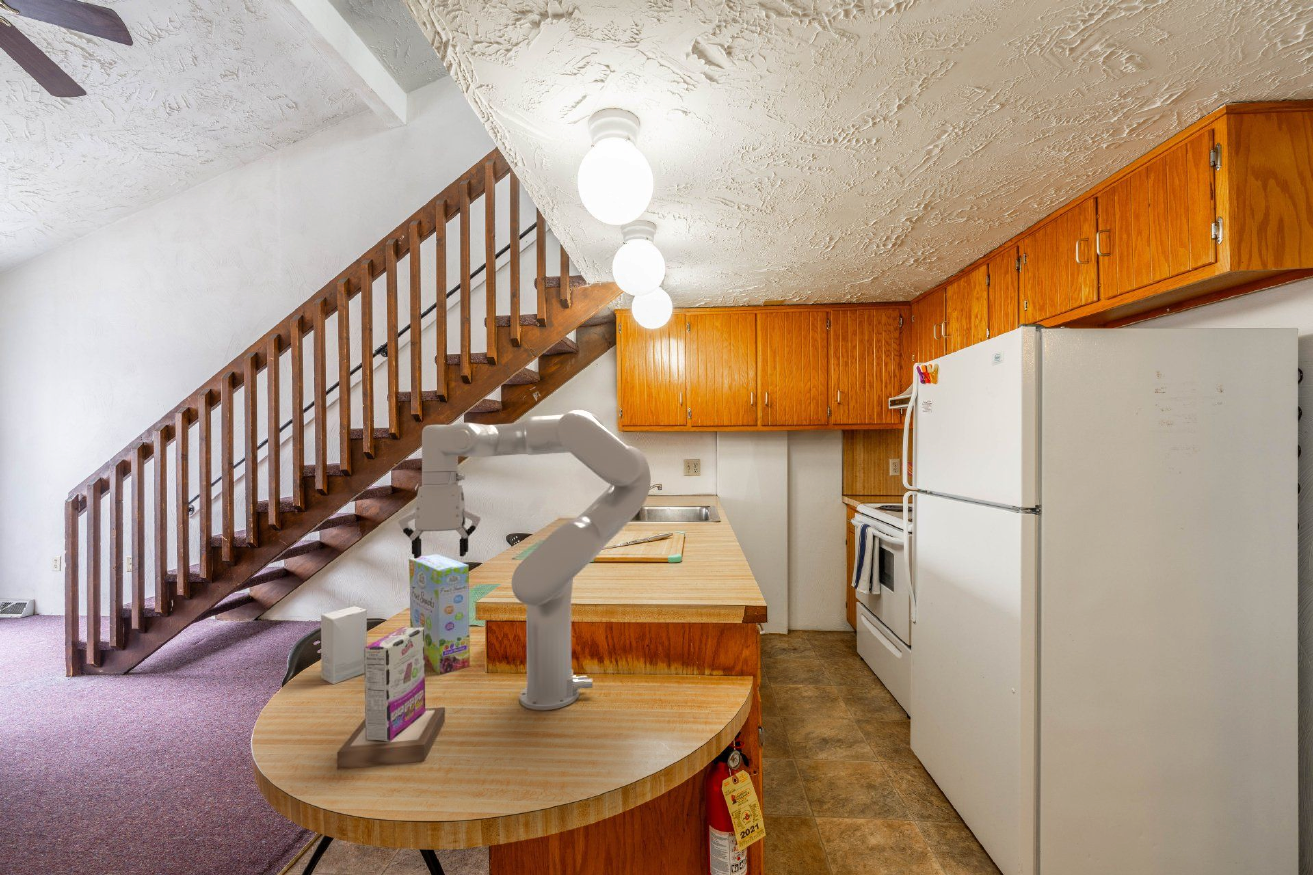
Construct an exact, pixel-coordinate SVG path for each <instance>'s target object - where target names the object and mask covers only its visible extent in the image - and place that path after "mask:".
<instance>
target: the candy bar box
mask: <svg viewBox="0 0 1313 875" xmlns="http://www.w3.org/2000/svg"><path fill="white" fill-rule="evenodd" d="M364 657H365V673H364V696H365V697H364V704H365V707H364V709H365V711H364V712H365V717H364V719H365V722H366V723H365V724H366V740H368V741H383V742H390V741H391V740H392V739H394V738H395V737H396V736H397V735H398V734H400V733H401V732H402V731H403V730H404V729H406V728H407V727H408V726H409V725H410V724H412V723H413V722H414V721H415V720H416V719H417V718H419V717H420V716H421V715H422V714H423V713H425V712H426V710H425V709H426V679H425V678H426V676H425V675H426V673H425V670H426V669H425V664H426V663H425V661H424V660H425V658H424V628H419V627H410V626H404V627H400V628H399V629H397V630H395V631H393V632H391V633H389V634H388V635H386V636H383V637H382V638H380V639H378V640H376V641H373V642H372V643H370V644H367V646H366V647H365V648H364Z"/></svg>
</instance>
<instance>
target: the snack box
mask: <svg viewBox="0 0 1313 875" xmlns="http://www.w3.org/2000/svg"><path fill="white" fill-rule="evenodd" d="M408 568H409V569H408V570H409V571H408V572H409V573H408V574H409V575H408V576H409V606H410V607H409V615H410V616H409V618H410V620H409V621H410V622H409V623H410V624H409V625H410V626H409V627H419V628H424V658H425V660H424V661H425V664H426V665H427V666H429V667H430V668H431V669H433V671H435V672H436V673H437V674H438V675H443V674H447V673H451V672H454V671H457V670H461V669H465V668H468V667H470V666H471V654H470V653H471V651H470V650H471V649H470V648H471V645H470V644H471V643H470V642H471V641H470V639H471V638H470V637H471V636H470V584H469V583H470V582H469V581H470V580H469V579H470V578H469V577H470V575H469V574H470V573H469V570H470V569H469V568H470V566H469V564H466V563H463V562H461V561H458V560H455V559H453V558H449V557H447V556H444V555H441V554H437V553H435V554H430V555H429V554H428V555H423V556H422V555H421V556H420V557H419V558H417V559H414V557H409V558H408Z"/></svg>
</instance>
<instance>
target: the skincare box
mask: <svg viewBox="0 0 1313 875" xmlns="http://www.w3.org/2000/svg"><path fill="white" fill-rule="evenodd" d="M367 613H368V610H367V609H365V608H362V607H359V606H355V605H354V606H350V607H346V608H341V609H338V610H334V611H330V612H326V613H322V614H320V641H321V644H320V647H321V648H320V649H321V650H320V651H321V652H320V655H321V656H320V658H321V660H320V661H321V664H320V666H321V673H320V676H321V679H322V680H324V681H326V682H328V683H330V684H331V685H335V684H338V683H341V682H344V681H346V680H349V679H353V678H356V677H358V676H361V675H365V657H364V648H365V647H366V646H368V644H367V643H368V640H367V638H368V636H367V634H368V632H367V631H368V629H367V625H368V624H367V617H368V614H367Z"/></svg>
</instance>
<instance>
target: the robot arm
mask: <svg viewBox="0 0 1313 875" xmlns="http://www.w3.org/2000/svg"><path fill="white" fill-rule="evenodd" d="M564 453H570V454H571V455H572V456H573V457H574V458H576V459H577V460H578V461H579V462H581V464H583V465H584V466H585V467H587V468H588V469H590V471H592V473H594V474H595V475H596V476H598V477H599V478H600V479H601V480H602V481H604V482H605V483H607V484H609V487H607V489H606V490H605V491H604V492H603V493H602V494H601V495H599V496H598V497H597V498H596V499H595V500H594V501H593V502H592V503H591V504H590V505H589V506H588V507H587V508H586V509H584V511H583V512H582V513H580V514H579V515H578V516H576V517H575V518H573V519H570V520H568V521H566V522H564V523H563V524H561V525H560V526H558V527H557V528H556V529H555V530H553V531H552V532H551V533H550V534H549V535H548V536H547V537H545V539H544V540H543V541H542V542H541V543H540V544H539V545H538V546H537V547H535V548H534V550H532V551H531V552H530V553H529V554H528V555H527V556H526V557H525V558H524V559H523V560H522V561H521V562H520V563H519V564H518V565H517V567H516V568H515V570H514V572H513V574H512V577H511V589H512V593H513V595H514V597H515V598H516V600H518V601H519V602H520V603H522V604H524V605H525V606H527V607H526V687H525V688H523V690H521V692H520V693H519V704H520V705H522V706H523V707H525V708H527V709H530V710H534V711H550V710H556V709H560V708H564V707H566V706H569V705H570V704H572V703H574V702H575V701H577V699H578V698H579V696H580V689H593V688H594V686H593V685H594V684H593V677H592V678H588V675H580V676H577V675H576V674H575V675H574V669H572V594H573V584H574V582H573V581H574V578H575V577H576V576H577V575H578V574H579V573H580V572H581V571H582V570H584V568H585V567H587V565H590V563H591V562H593V560H595V559H596V557H598V555H599V554H600V553H601V552H602V550H603V549H604V548H605V547H606V546H607V545H608V543H610V541H611V540H612V539H614V537H616V536H617V535H618V534H619V533H620V532H621V530H623V528H625V527H626V526H627V524H629V523H630V522H631V520H632V519H633V518H634V517H636V515H637V514H638V513H639V512H640V510H641V509H642V507H643V506H644V504H645V502H646V501H647V498H648V496H649V494H650V488H651V479H652V478H651V477H652V476H651V471H650V465H649V463H648V460H647V458H646V457H645V455H644V453H643V452H642V451H641V450H640V449H638V448H636V447H634V446H631V445H627V444H625V443H624V442H623V441H621V439H619V438H618V437H616V435H614V434H613V433H612V432H611V431H609V430H608V429H607V428H606V427H605V426H604V424H603V421H602V420H601V419H600V417H598V416H597V415H596V414H593V413H591V412H588V411H586V410H581V409H575V410H574V409H573V410H570V411H568V412H566V413H564V414H553V415H552V414H551V415H536V416H534V415H533V416H529V417H527V418H526V419H524V420H523V421H519V422H514V423H502V424H501V423H500V424H482V423H473V422H462V423H456V424H430V425H429V424H428V425H426V426H424V427H423V429H422V431H421V486H418V489H417V490H418V491H417V494H416V502H415V509H414V510H415V511H414V512H413V513H410V514H409V515H407V516H405V517H403V518H402V519H399V520H398V524H399V526H400V528H401V530H402V532H403V533H404V534H405V535H406V536H407V537H408V539H409V540H410V541H411V555H413V558H414V559H417V558H419V557H420V556H422V539H421V538H420V537H421V535H422V534H423V533H424V532H444V531H445V532H446V531H447V532H448V531H449V532H450V531H456V532H457V533H458V534H459V536H460V539H459V556H460V558H461V557H464V556H466V554H467V553H468V552H469V537H470V536H471V535H472V534H473V532H475V531H476V530H477V529H478V528H477V527H478V526H479V524H480V522H481V517H480V516H478V515H477V514H474V513H472V512H469V511H467V510H466V503H465V502H466V501H465V495H464V489H463V485H461V484H459V482H461V481H465V477H466V476H465V474H463V473H462V474H461V473H460V472H459V457H466V458H475V457H476V458H477V457H481V458H485V457H486V458H487V457H500V456H502V457H503V456H517V455H529V456H534V455H535V456H536V455H549V454H551V455H552V454H564ZM466 519H468V520H470V521H472V522H471V525H470V526H469V528H466V527H465V525H466V521H467V520H466ZM411 521H414V527H415V530H413V529H412V528H411V527H410V526H409V523H410V522H411Z"/></svg>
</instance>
